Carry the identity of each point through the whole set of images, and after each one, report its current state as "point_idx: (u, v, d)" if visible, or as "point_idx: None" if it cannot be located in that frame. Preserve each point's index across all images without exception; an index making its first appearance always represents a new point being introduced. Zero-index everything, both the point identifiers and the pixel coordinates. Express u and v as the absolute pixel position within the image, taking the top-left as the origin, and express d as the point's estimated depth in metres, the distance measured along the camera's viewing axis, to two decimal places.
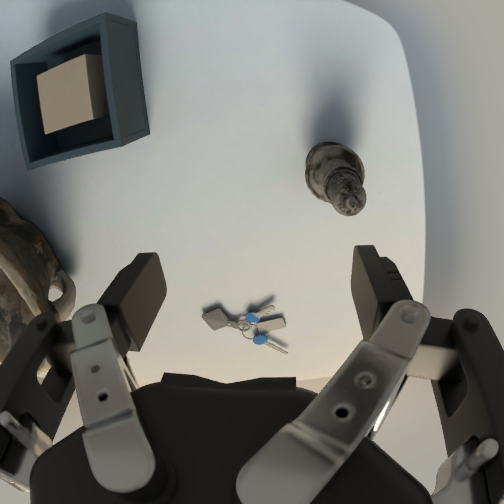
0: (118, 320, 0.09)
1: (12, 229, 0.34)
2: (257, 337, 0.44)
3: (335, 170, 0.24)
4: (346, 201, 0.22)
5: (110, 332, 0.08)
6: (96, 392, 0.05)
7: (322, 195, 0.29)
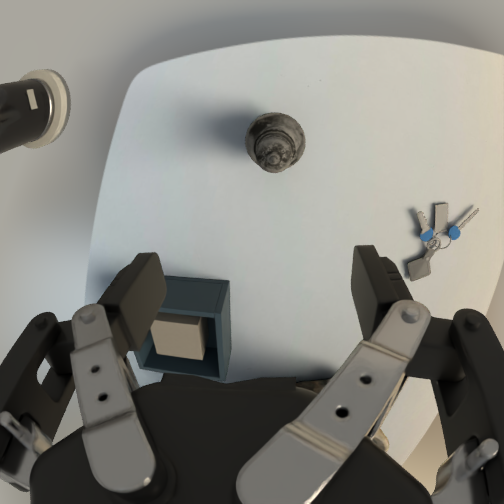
0: (118, 320, 0.09)
1: None
2: (450, 235, 0.34)
3: None
4: (271, 163, 0.23)
5: (110, 332, 0.08)
6: (96, 392, 0.05)
7: (295, 156, 0.29)
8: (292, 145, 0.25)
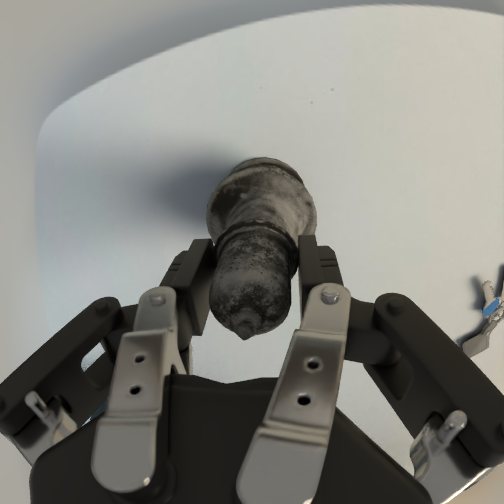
0: (186, 303, 0.10)
1: None
2: None
3: None
4: None
5: (172, 322, 0.08)
6: (130, 383, 0.06)
7: None
8: (291, 250, 0.13)
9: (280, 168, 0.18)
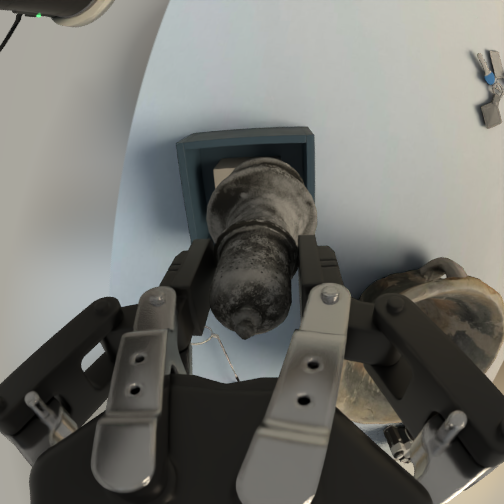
0: (186, 303, 0.10)
1: None
2: None
3: None
4: None
5: (173, 322, 0.08)
6: (130, 383, 0.06)
7: None
8: (291, 250, 0.13)
9: (280, 167, 0.18)
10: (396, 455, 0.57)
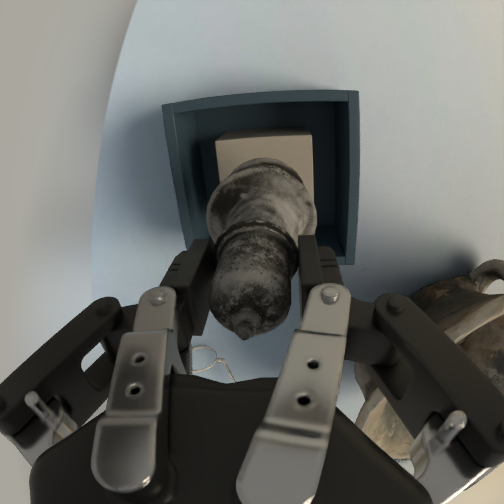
0: (186, 303, 0.10)
1: None
2: None
3: None
4: None
5: (172, 322, 0.08)
6: (130, 383, 0.06)
7: None
8: (291, 250, 0.13)
9: (280, 168, 0.18)
10: None
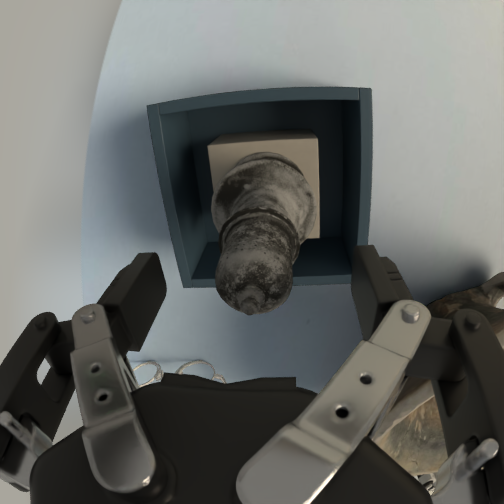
0: (118, 320, 0.09)
1: None
2: None
3: None
4: None
5: (110, 332, 0.08)
6: (96, 392, 0.05)
7: (301, 233, 0.17)
8: (292, 236, 0.13)
9: (281, 162, 0.19)
10: (425, 486, 0.44)
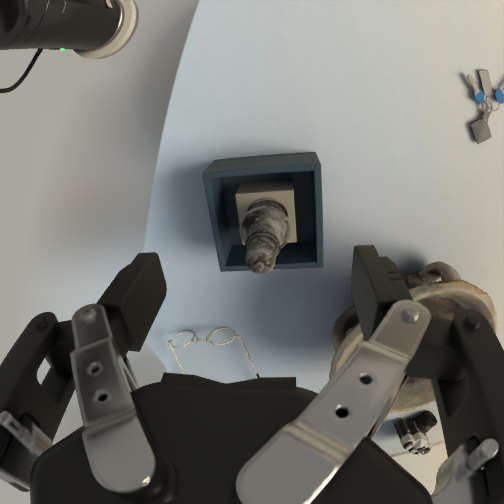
0: (118, 320, 0.09)
1: None
2: (497, 97, 0.29)
3: None
4: None
5: (110, 332, 0.08)
6: (96, 392, 0.05)
7: (283, 240, 0.35)
8: (276, 242, 0.31)
9: (274, 203, 0.37)
10: (405, 446, 0.61)
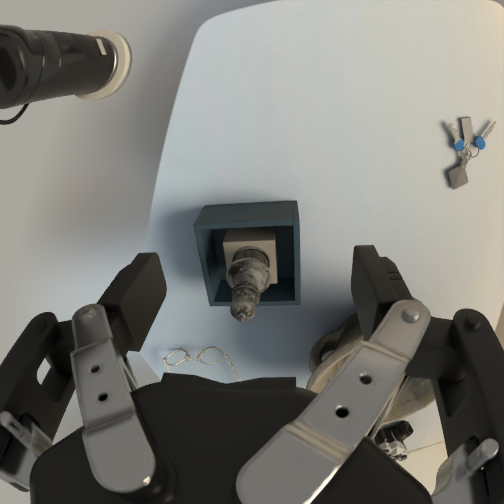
0: (118, 320, 0.09)
1: (343, 336, 0.50)
2: (477, 144, 0.35)
3: None
4: None
5: (110, 332, 0.08)
6: (96, 392, 0.05)
7: (264, 286, 0.41)
8: (257, 293, 0.36)
9: (257, 251, 0.42)
10: None
